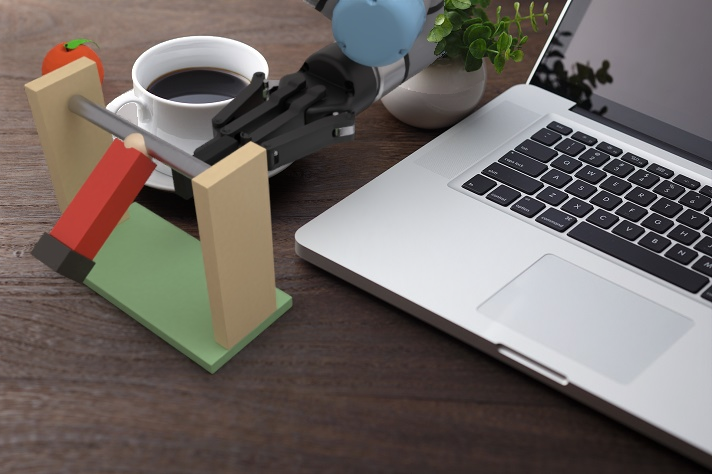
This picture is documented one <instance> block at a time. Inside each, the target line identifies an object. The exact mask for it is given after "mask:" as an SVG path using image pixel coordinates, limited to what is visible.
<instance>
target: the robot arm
mask: <svg viewBox="0 0 712 474" xmlns="http://www.w3.org/2000/svg"><path fill="white" fill-rule="evenodd" d="M301 1H302V2H304V3H305V4H307V5H308V6H309V7H311V8H313V9H314V10H316V11H317V12H318V13H320V14H322V16H324V17H325V18H327V19H328V20H330V21H331V32H332V36H333V39H334V41H333V42H331V43H329V44H327V45H325V46H324V47H322V48H321V49H319V50H317V51H315V52H314V53H312V54H310V55H308V57H307V58H306V59H305V61H304V62H303V64H302V65H301V67H300V68H299V69H298V71H296V72H293V73H292V72H291V73H288V74H284V75H282V77H281V78H280V79H267V78H266V73H265V72H263V71H256V72H253V74H252V76H251V79H250V83H249V84H247V85H246V87H244V88H243V89H242V90H241V91H240V92H239V93H238V94H237V95H236V96H234V98H232V99H231V101H229V103H227V104H226V105H225V106H224V107H223V108H222V109H221V110H220V111H219V112H217V113H216V115H214V116H213V117H212V118H211V129H212V136H213V137H212V138H211V139H209V140H208V141H206V142H204V143H203V144H201V145H200V146H197V147H196V148H195V149H194V150H193V152H192V153H193V154H191V155H192V156H194V157H196V158H197V159H199V160H201V161H203V162H205V163H207V164H208V165H210V166H213V165H215V164H216V163H218V162H219V161H221V160H222V159H224V158H226V157H227V156H229V155H230V154H232V153H233V152H235V151H236V150H238V149H239V148H241V147H243V146H244V145H246V144H247V143H249V142H250V141H251V142H253V143H255V144H257V145H259V146H261V147H263V148H265V149H266V154H267V169H268V172H272V171H274V170H277V169H279V168H282V167H284V166H286V165H289V164H291V163H293V162H295V161H298V160H300V159H303V158H305V157H307V156H309V155H311V154H315V153H316V152H319V151H321V150H323V149H325V148H328V147H330V146H333V145H336V144H342V143H348V142H352V141H354V140H355V138H356V117H357V116H358V115H360V114H361V113H363V112H364V111H365V110H367V109H369V108H370V107H371V106H372V105H373V104H375V103H376V102H378V101H379V100H381V99H383V98H384V97H385V96H387V95H388V94H389V93H391V92H393V91H394V90H396V89H397V88H399V87H400V86H401V85H402V84H404V83H406V82H407V81H409V80H411V79H412V78H413V77H415V76H416V75H418V74H419V73H421V72H422V71H424V70H425V69H427V68H429V67H428V66H429V65H430V64H432V63H433V62H434V61H435V60H436V59H437V58H439V57H441V56H442V54H444V53H445V51H443V52H442V53H441V54H440V55H438V56H436V55H434V51H435V48H436V46H437V44H438V43H434V42H429V41H428V40H427V36H428V35H429V33H430V31H431V30H432V28H434V27H435V25H434V24H435V20H436V18H437V16H438V15H439V14H444V6H445V2H444V1H445V0H301ZM443 5H444V6H443ZM445 54H446V53H445ZM445 54H444V55H445ZM442 57H443V56H442ZM442 57H441V58H442ZM426 67H427V68H426ZM423 69H424V70H423ZM275 152H277V153H276V154H275ZM170 169H171V177H172V182H173V189H174V193H175V194H176V195H177V196H179V197H181V198H183V199H184V200H185V201H187V200H189V199H191V198H192V197H194V194H193V187H192V179H190V178H188V177H186V176H185V175H183V174H181V173H179V172H177V171H176V170H174V169H172V168H170Z"/></svg>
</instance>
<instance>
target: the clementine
mask: <svg viewBox="0 0 712 474" xmlns="http://www.w3.org/2000/svg"><path fill="white" fill-rule="evenodd" d="M87 42H88V43H93V44H94V45H95V46H96V47H97V48H98V49H99V50H100V49H101V48H100V47H99V45H98V44H97V43H96V42H95V41H93V40H90V39H84V38H78V39H71V40H70V41H64V42H61V43H59V44H56V45H55V46H53V47H52V48H51V49H49V50H48V52H47V53H46V54H45V56H44V58H43V61H42V65H41V68H40V69H41V77H42V76H44V75H46V74H48V73H50V72H52V71H54V70H56V69H58V68H61V67H63V66H65V65H67V64H69V63H71V62H73V61H75V60H77V59H80V58H82V57H86V58H88V59H90V60H92V61H94V62H96V65H97V69H98V74H99V78H100V83H101V87H102V86H103V82H104V78H105V68H104V65H103V63H102V60H101V57H99V56H98V54H97V53H96V51H94V50H93V49H92V48H90V47H89V46H88V45H86V44H84V43H87Z"/></svg>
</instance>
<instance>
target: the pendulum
mask: <svg viewBox="0 0 712 474" xmlns="http://www.w3.org/2000/svg"><path fill="white" fill-rule="evenodd" d="M68 107H69V110H70V111H71V112H73V113H75V114H76V115H78V116H80V117H82V118H83V119H85V120H87V121H89V122H91V123H92V124H94V125H96V126H98V127H99V128H101V129H103V130H105V131H106V132H108V133H110V134H112V136H114V137H115V138H114V139H113V143H112V144H111V145H110V147H109V148H108V150H107V151H106V153H105V154H104V156H103V157H102V158H101V160H100V161H99V163H98V164H97V166H96V167H95V168H94V170H93V171H92V173H91V174H90V176H89V177H88V179H87V180H86V181H85V183H84V184H83V186H82V187H81V189H80V190H79V191H78V193H77V194H76V196H75V197H74V199H73V200H72V202H71V203H70V204H69V206H68V207H67V209H66V210H65V212H64V213H63V214H62V215H61V216H60V217H59V219H58V220H57V221H56V223H55V224H54V226H53V227H52V229H51V230H50V232H49V233H48V232H47V231H44V232H43V233H42V235H41V236H40V237H39V239H38V241H37V242H36V243H35V245H34V246H33V248H32V249H31V251H30V252H29V254H30V255H31V256H32V257H34V258H35V259H37V260H38V261H40V262H41V263H42V264H43V265H45V266H46V267H48V268H49V269H50V270H52V271H54V272H55V273H57V274H58V275H61V276H63V277H65V278H67V279H69V280H71V281H73V282H75V283H77V284H79V285H83V284H84V283H83V282H84V280H85V279H86V277H87V276H88V274H89V273H90V271H91V270H92V268H93V267H94V265H95V264H96V263H95V262H94V261H93V259H94V258H95V256H96V255H97V253H98V252H99V250H100V249H101V247H102V246H103V244H104V243H105V241H106V240H107V239H108V237H109V236H110V234H111V233H112V231H113V230H114V228H115V227H116V225H117V224H118V222H119V221H120V220H121V218H122V217H123V215H124V214H125V212H126V211H127V209H128V208H129V206H130V205H131V204H132V203H134V202H135V199H136V198H137V196H138V195H139V193H141V190H142V189H143V188H144V186H145V184H146V183H147V181H149V179H150V177H151V176H152V174H153V173H154V171H155V170H156V168H157V167H158V164H157V163H156V162H154V161H153V159H154V160H157V161H158V162H160V163H161V164H163V165H165V166H167V167H168V168H170V169H171V168H172V169H174V170H176V171H177V172H179V173H181V174H183V175H185V176H186V177H188V178H190V179H193V178H195V177H196V176H198V175H199V174H201V173H202V172H204V171H205V170H207V169H208V168H210V167H212V166H210V165H208V164H207V163H205V162H203V161H201V160H199V159H197V158H196V157H194V156H192V155H193V154H191V153H188V152H186V151H184V150H183V149H181V148H179V147H177V146H176V145H173V144H171V143H170V142H168V141H166V140H165V139H162V138H161V137H159V136H158V135H155V134H153V133H151V132H149V131H147V130H146V129H144V128H142V127H141V126H138V125H137V124H135V123H133V122H131V121H129V120H128V119H126V118H125V117H122V116H121V115H119V114H116V113H114V112H113V111H111V110H109V109H107V107H106V108H104V107H102V106H100V105H98V104H96V103H95V102H93V101H91V100H89V99H87V98H85V97H84V96H82V95H79V94H78V95H74V96H72V97H71V99H70V100H69V103H68Z"/></svg>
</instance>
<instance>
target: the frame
mask: <svg viewBox="0 0 712 474" xmlns="http://www.w3.org/2000/svg"><path fill="white" fill-rule="evenodd" d="M23 87H24V90H25V94H26V98H27V101H28V104H29V108H30V112H31V115H32V118H33V121H34V125H35V129H36V132H37V135H38V139H39V142H40V146H41V149H42V153H43V156H44V159H45V163H46V167H47V170H48V173H49V177H50V181H51V183H52V187H53V191H54V195H55V197H56V201H57V204H58V207H59V211H60V214H61V216H62V214H63V213H64V212H65V210H66V209H67V207H68V206H69V204H70V203H71V202H72V200H73V199H74V197H75V196H76V194H77V193H78V191H79V190H80V189H81V187H82V186H83V184H84V183H85V181H86V180H87V179H88V177H89V176H90V174H91V173H92V171H93V170H94V168H95V167H96V166H97V164H98V163H99V161H100V160H101V158H102V157H103V156H104V154H105V153H106V151H107V150H108V148H109V147H110V145H111V144H112V143H113V141H114V139H113V135H112V134H110V133H108V132H106V131H105V130H103V129H101V128H99V127H98V126H96V125H94V124H92V123H91V122H89V121H87V120H85V119H83V118H82V117H80V116H78V115H76V114H75V113H73V112H71V111H70V110H69V107H68V103H69V100H70V99H71V97H72V96H74V95H78V94H79V95H82V96H84V97H85V98H87V99H89V100H91V101H93V102H95V103H96V104H98V105H100V106H102V107H104V108H106V109H107V107H106V102H105V101H106V100H105V98H104V93H103V88H102V86H101V83H100V78H99V74H98V69H97V65H96V62H94V61H92V60H90V59H88V58H86V57H82V58H80V59H77V60H75V61H73V62H71V63H69V64H67V65H65V66H63V67H61V68H58V69H56V70H54V71H52V72H50V73H48V74H46V75H44V76H42V75H41V76H40V77H38V78H35V79H33V80H31V81H29V82H27V83H25V84H23ZM192 187H193V194H194V196H193V199H194V206H195V213H196V219H197V220H196V221H197V227H198V233H199V239H197V238H196V237H194V236H193V235H191V234H189V233H188V232H186V231H184V230H183V229H181V228H179V227H178V226H176V225H175V224H173V223H171V222H169V221H168V220H166V219H164V218H163V217H161V216H160V215H158V214H157V213H154V212H153V211H151V210H150V209H149V208H147V207H145V206H143V205H141V204H140V203H138V202H136V201H133V202H132V203H131V205H130V206H129V208H128V209H127V211H126V212H125V214H124V215H123V217H122V218H121V220H120V221H119V222H118V224H117V225H116V227H115V228H114V230H113V231H112V233H111V234H110V236H109V237H108V239H107V240H106V241H105V243H104V244H103V246H102V247H101V249H100V250H99V252H98V253H97V255H96V256H95V258H94V259H93V261H94V262H95V263H96V264H95V265H94V267H93V268H92V270H91V271H90V273H89V274H88V276H87V277H86V279H85V280H84V282H83V283H82V284H84V285H85V286H87V287H88V288H90V289H91V290H92V291H93V292H95V293H97V294H98V295H99V296H101V297H102V298H104V299H105V300H106V301H108V302H109V303H111V304H112V305H114V306H115V307H116V308H118V309H119V310H120V311H122V312H124V313H125V314H126V315H127V316H129V317H130V318H132V319H134V321H136V322H137V323H139V324H140V325H141V326H143V327H144V328H146V329H147V330H149V331H151V332H152V333H153V334H155V335H156V336H158V337H159V339H160V338H161V339H162V340H163V341H165V342H166V343H167V344H169V345H170V346H171V347H173V348H175V349H176V350H177V351H179V352H180V353H182V354H183V355H184V356H185V357H187V358H189V359H190V360H192V361H193V362H194V363H196V364H197V365H199V366H200V367H202V368H203V369H204V370H205V371H207V372H209V373H210V374H212V375H213V374H215V373H216V372H217V371H218V370H219V369H221V368H223V366H224V365H226V363H228V362H229V361H230V360H231V359H232V358H233V357H235V356H236V355H237V354H238V353H240V351H241V350H243V349H244V348H245V347H247V346H248V345H249V344H250V343H251V342H253V341H254V340H255V339H256V338H257V337H258V336H259V335H261V334H262V333H263V332H264V331H265V330H266V329H267V328H269V327H270V326H271V325H272V324H274V322H276V321H277V320H279V318H280V317H281V316H283V315H284V314H285V313H286V312H287V311H289V310H290V309H291V308H292V307H293V297H292V296H291V295H290V294H288V293H287V292H284V291H283V290H281V289H280V288H278V287H276V274H275V273H276V272H275V260H274V246H273V245H274V243H273V231H272V230H273V229H272V215H271V214H272V213H271V200H270V199H271V198H270V184H269V171H268V169H267V154H266V149H265V148H263V147H261V146H259V145H257V144H255V143H253V142H251V141H250V142H249V143H247V144H246V145H244V146H243V147H241V148H239V149H238V150H236V151H235V152H233V153H232V154H230V155H229V156H227V157H226V158H224V159H222V160H221V161H219V162H218V163H216V164H215V165H213V166H212V167H210V168H208V169H207V170H205V171H204V172H202V173H201V174H199V175H198V176H196V177H195V178H193V179H192Z"/></svg>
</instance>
